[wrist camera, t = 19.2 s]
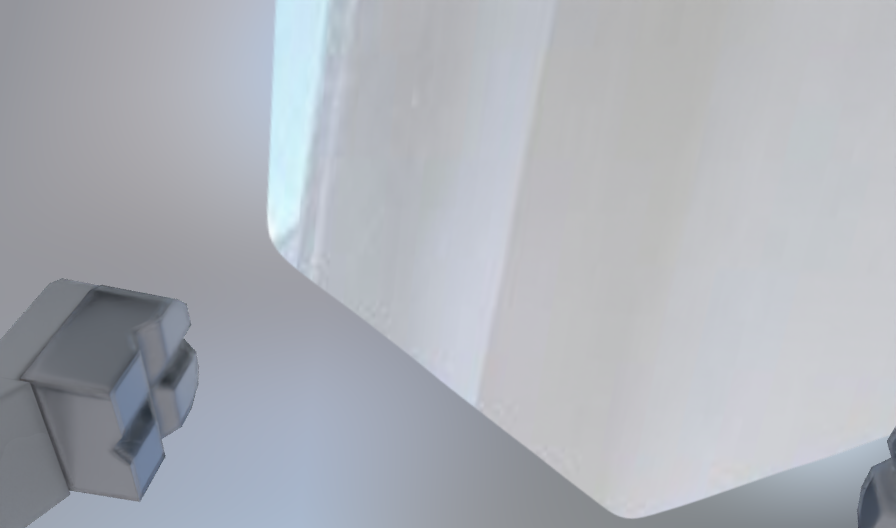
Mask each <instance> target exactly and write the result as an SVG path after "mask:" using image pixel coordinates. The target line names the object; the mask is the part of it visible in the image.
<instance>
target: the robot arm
mask: <svg viewBox="0 0 896 528" xmlns="http://www.w3.org/2000/svg"><path fill="white" fill-rule="evenodd" d="M190 326H191V321H190V316H189V312H188V308H187V304H186V303H184V302H182V301H180V300H178V299H173V298H168V297H163V296H157V295H152V294H147V293H141V292H136V291H131V290H126V289H120V288H115V287H110V286H105V285H94V284H89V283H84V282H79V281H74V280H68V279H64V278H62V279H59V280H57V281H54V282H52V283H50V284H49V285H48V286H47V287H46V288H45V289H44V290H43V291H42V293H41V294H40V295H39V296H38V297H37V298H36V299H35V301H34V302H33V303H32V304H31V305H30V306H29V307H28V308H27V310H26V311H25V312H24V313H23V314H22V316H21V317H20V318H19V319H18V320H17V321H16V322H15V323H14V325H13V326H12V327H11V328H10V329H9V330H8V331H7V333H6V334H5V335H4V336H3V337H2V338H1V339H0V528H25V527H27V526H28V525H29V524H31V523H32V522H33V521H35V520H36V519H37V518H39V517H40V516H42V515H43V514H44V513H46V512H47V511H48V510H50V509H51V508H53V507H54V506H55V505H57V504H58V503H59V502H61V501H62V500H64V499H65V498H66V497H68V496H69V495H70V492H69V490H70V491H76V492H83V493H89V494H95V495H101V496H107V497H113V498H120V499H126V500H132V501H138V502H139V501H141V499H142V497H143V495H144V494H145V492H146V490H147V488H148V487H149V485H150V483H151V481H152V479H153V478H154V476H155V474H156V472H157V471H158V469H159V467H160V465H161V463H162V462H163V460H164V458H165V452H164V448H163V443H162V438H164V437H166V436H167V435H169V434H171V433H172V432H174V431H176V430H177V429H179V428H181V427H182V425H183V423H184V421H185V419H186V418H187V416H188V414H189V412H190V410H191V408H192V405H193V401H194V398H195V393H196V390H197V386H198V373H199V365H198V359H197V353H196V351H195V350H194V349H193V348H192V347H191V346H190V345H189V344H188V343H187V342H186V340H185V339H184V336H185V335H186V333H187V331H188V330H189V328H190ZM887 443H888V447H889V450H890V453H891V458H889V459H888V460H885V461H883V462H881V463H879V464H877V465H875V466H873V467H872V468H871V469H870V471H869V473H868V475H867V477H866V479H865V481H864V483H863V485H862V487H861V492H860V498H859V503H858V509H857V512H858V513H857V514H858V528H896V427H895V428H894V430H893V432H892V433H891V435H890V437H889V438H888V440H887Z"/></svg>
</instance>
